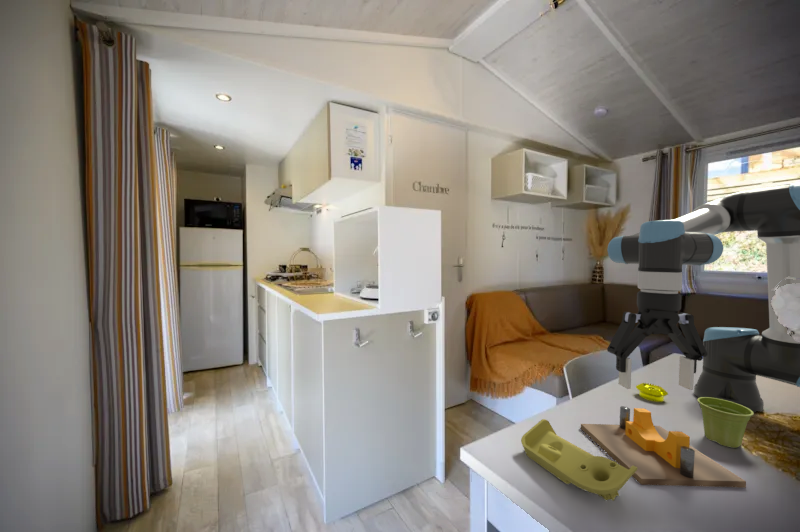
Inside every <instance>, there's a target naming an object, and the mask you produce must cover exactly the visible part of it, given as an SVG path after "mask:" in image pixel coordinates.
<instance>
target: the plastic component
mask: <svg viewBox="0 0 800 532" xmlns="http://www.w3.org/2000/svg"><path fill="white" fill-rule="evenodd" d="M520 442H521V445H522V447H523V449H524V451H525V454H526V456H527V457H528V458H529V459H530V460H532V461H533V462H535V463H536V464H538V465H539V466H541V468H543V469H545V470H546V471H547V472H549V473H551V474H552V475H553V476H554V477H555V478H557V479H559V480H560V481H561V482H563V483H565V484H566V485H570V484H572V485H573V486H575V487H577V488H579V489H580V490H583V491H586V492H589V493H591V494H595V495H598V496H599V497H602V498H603V499H605V500H604V501H606V500H607V501H609V500H610V501H613V502H614V501H615V499H616V498H617V497H620V493H619V491H620V490H621V489H622V488H623V487H624V486H626V484H627V482H628V481H629V480H630V479H631V477H632V475H633V474H634V473H635V472H636V471H637V469H638V468H637V467H635V466H631V468H630V469H629V470H628V469H626V468H625V467H623V466H621V465H619V464H618V463H617V462H616V461H615V460H611V459H609V458H608V457H605V456H599V455H593V454H591V452H590V453H589V452H588V451H586V450H584V449H583V448H581V447H579V446H577V445H575V444H574V443H572V442H570V441H568V440H567V439H565V438H563V437H561V436H559V435H558V434H557V433H556V431H555V429H554V427H552V425H551V423H550V421H549V420H548V419H546V418H543V419H541V420H540V421H538V422H537V423H536V424H534V426H532V427H531V428H530V429H529V430H527V432H525V433H524V434H523V435H522V436H521V439H520Z"/></svg>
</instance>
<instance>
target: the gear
mask: <svg viewBox="0 0 800 532" xmlns="http://www.w3.org/2000/svg"><path fill="white" fill-rule="evenodd" d="M635 388H636V389H637V390H638V391H639V394H638V396H639V397H640V398H643V399H645V400H647V401H649V402H650V401H651V402H656V403H663V402H664V401H665V397H666V396H667V395H669V393H668V391H667V390H665V389H664V388H663V387H661V386H659V385H657V384H652V383H649V382H648V383H646V382H641V383H639V384H637V385H636V386H635Z"/></svg>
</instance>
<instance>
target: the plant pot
mask: <svg viewBox="0 0 800 532" xmlns="http://www.w3.org/2000/svg"><path fill="white" fill-rule="evenodd" d="M696 400H697V402H698V404H699V408H700V409H701V416H702V421H703V422H702V423H703V431H704V436H705V437H706V438H707V439H708V440H709V441H712V442H716V443H718V444H719V445H721V446H724V447H728V448H734V449H735V448H739V447H741V446H742V443H743V439H744V437H745V436H744V435H745V431H746V429H747V425H748V422H749V421H750V419H751V417H753V416H754V413H755V412H753V411H752V410H750V409H749V408H747V407H745V406H742V405H740V404H737V403H734V402H731V401H727V400H723V399H718V398H711V397H700V398H699V397H697V399H696Z"/></svg>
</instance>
